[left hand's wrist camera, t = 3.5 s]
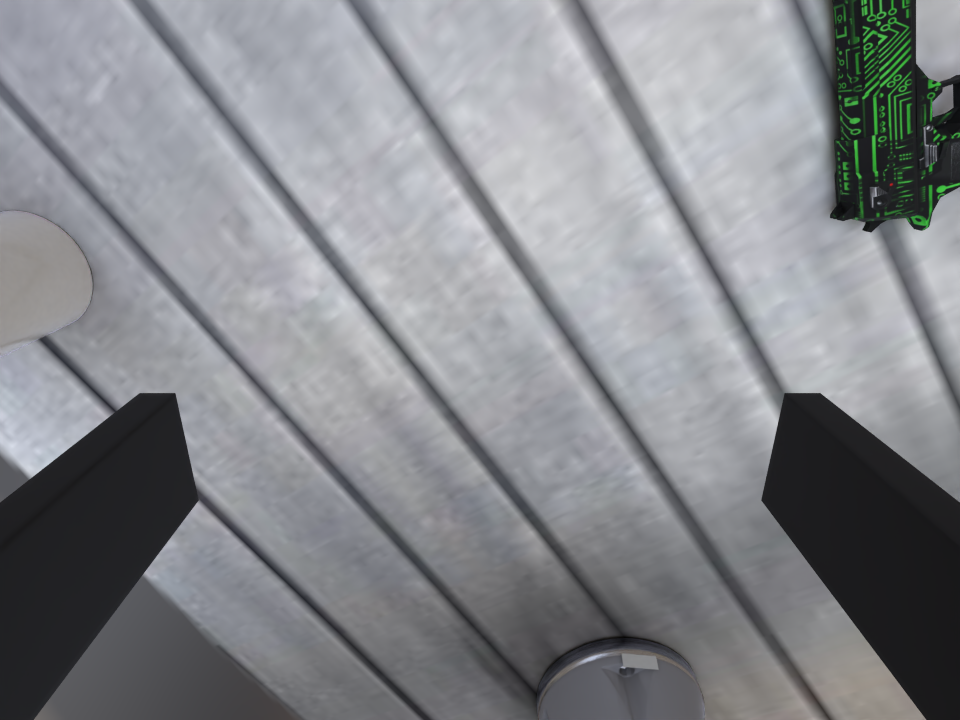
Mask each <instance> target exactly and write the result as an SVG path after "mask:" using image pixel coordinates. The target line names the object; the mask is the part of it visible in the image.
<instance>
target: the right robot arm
mask: <svg viewBox="0 0 960 720" xmlns="http://www.w3.org/2000/svg"><path fill="white" fill-rule="evenodd" d="M536 702H537V714H538V720H704V716H705V709H704V708H705V707H704V698H703V695H702V692H701V689H700V687H699V684H698V682H697V679H696V676H695V674H694V672H693V670H692V668H691V667H690V666H689V664H688V663H687V662H686V661H685V660H684V659H683V658H682V657H681V656H680V655H679V654H677V653H676V652H674V651H673V650H671V649H669V648H667V647H665V646H663V645H660V644H657V643H655V642H651V641H647V640H641V639H633V638H616V639H607V640H601V641H597V642H593V643H590V644H587V645H584V646H581V647H579V648H577V649H575V650H573V651H571V652H569V653H567V654H566V655H564V656H563V657H561V658H560V659H559V660H558V661H556V662H555V663H554V664H553V665H552V666H551V667H550V668H549V670H548V671H547V672H546V673H545V675H544V677H543V678H542V680H541V682H540V684H539V687H538V691H537V698H536Z"/></svg>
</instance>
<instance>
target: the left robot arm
mask: <svg viewBox="0 0 960 720" xmlns="http://www.w3.org/2000/svg"><path fill="white" fill-rule="evenodd" d="M197 502H198V495H197V491H196V486H195V482H194V477H193V472H192V468H191V463H190V459H189V454H188V449H187V445H186V440H185V436H184V431H183V426H182V422H181V417H180V413H179V408H178V404H177V399H176V394H175V393H139V394H138V395H137V396H136V397H134V398H133V399H132V400H130V401H129V402H128V403H127V404H125V405H124V406H123V407H122V408H120V409H119V410H118V411H116V412H115V413H114V414H113V415H111V416H110V417H109V418H108V419H106V420H105V421H104V422H102V423H101V424H100V425H99V426H97V427H96V428H95V429H94V430H92V431H91V432H90V433H88V434H87V435H86V436H85V437H83V438H82V439H81V440H79V441H78V442H77V443H76V444H74V445H73V446H72V447H71V448H69V449H68V450H67V451H65V452H64V453H63V454H62V455H60V456H59V457H58V458H57V459H55V460H54V461H53V462H51V463H50V464H49V465H48V466H46V467H45V468H44V469H43V470H41V471H40V472H39V473H37V474H36V475H35V476H34V477H32V478H31V479H30V480H28V481H27V482H26V483H25V484H23V485H22V486H21V487H20V488H18V489H17V490H16V491H15V492H13V493H12V494H11V495H9V496H8V497H7V498H6V499H4V500H3V501H2V502H0V720H34V718H35V717H36V716H37V714H38V713H39V712H40V710H41V709H42V708H43V706H44V705H45V704H46V702H47V701H48V700H49V698H50V697H51V696H52V694H53V693H54V692H55V691H56V689H57V688H58V687H59V685H60V684H61V683H62V681H63V680H64V679H65V677H66V676H67V675H68V673H69V672H70V671H71V669H72V668H73V667H74V665H75V664H76V663H77V661H78V660H79V659H80V657H81V656H82V655H83V653H84V652H85V651H86V649H87V648H88V647H89V645H90V644H91V643H92V641H93V640H94V639H95V637H96V636H97V635H98V633H99V632H100V631H101V629H102V628H103V627H104V625H105V624H106V623H107V621H108V620H109V619H110V617H111V616H112V615H113V613H114V612H115V611H116V609H117V608H118V607H119V605H120V604H121V603H122V601H123V600H124V599H125V597H126V596H127V595H128V594H129V592H130V591H131V590H132V588H133V587H134V585H135V584H136V583H137V582H138V580H139V579H140V577H141V576H142V575H143V574H144V572H145V571H146V570H147V568H148V567H149V566H150V564H151V563H152V562H153V560H154V559H155V558H156V556H157V555H158V554H159V552H160V551H161V550H162V548H163V547H164V546H165V544H166V543H167V542H168V540H169V539H170V538H171V536H172V535H173V534H174V532H175V531H176V530H177V528H178V527H179V526H180V524H181V523H182V522H183V520H184V519H185V518H186V516H187V515H188V514H189V512H190V511H191V510H192V508H193V507H194V506H195V504H196V503H197ZM762 502H763V503H764V504H765V506H766V507H767V508H768V510H769V511H770V512H771V514H772V515H773V516H774V518H775V519H776V520H777V522H778V523H779V524H780V526H781V527H782V528H783V530H784V531H785V532H786V534H787V535H788V536H789V538H790V539H791V540H792V542H793V543H794V544H795V546H796V547H797V548H798V550H799V551H800V552H801V554H802V555H803V556H804V558H805V559H806V560H807V562H808V563H809V564H810V566H811V567H812V568H813V570H814V571H815V572H816V574H817V575H818V576H819V578H820V579H821V580H822V582H823V583H824V584H825V586H826V587H827V588H828V590H829V591H830V592H831V594H832V595H833V596H834V597H835V599H836V600H837V601H838V603H839V604H840V605H841V607H842V608H843V609H844V611H845V612H846V613H847V615H848V616H849V617H850V619H851V620H852V621H853V623H854V624H855V625H856V627H857V628H858V629H859V631H860V632H861V633H862V635H863V636H864V637H865V639H866V640H867V641H868V643H869V644H870V645H871V647H872V648H873V649H874V651H875V652H876V653H877V655H878V656H879V657H880V659H881V660H882V661H883V663H884V664H885V665H886V667H887V668H888V669H889V671H890V672H891V673H892V675H893V676H894V677H895V679H896V680H897V681H898V683H899V684H900V685H901V687H902V688H903V689H904V691H905V692H906V693H907V695H908V696H909V697H910V699H911V700H912V701H913V702H914V704H915V705H916V706H917V708H918V709H919V710H920V712H921V713H922V714H923V716H924V717H925V718H926V720H960V502H958V501H957V500H956V499H954V498H953V497H952V496H951V495H949V494H948V493H947V492H946V491H944V490H943V489H942V488H940V487H939V486H938V485H937V484H935V483H934V482H933V481H932V480H930V479H929V478H928V477H926V476H925V475H924V474H923V473H921V472H920V471H919V470H917V469H916V468H915V467H914V466H912V465H911V464H910V463H909V462H907V461H906V460H905V459H903V458H902V457H901V456H900V455H898V454H897V453H896V452H895V451H893V450H892V449H891V448H889V447H888V446H887V445H886V444H884V443H883V442H882V441H881V440H879V439H878V438H877V437H875V436H874V435H873V434H872V433H870V432H869V431H868V430H866V429H865V428H864V427H863V426H861V425H860V424H859V423H858V422H856V421H855V420H854V419H852V418H851V417H850V416H849V415H847V414H846V413H845V412H844V411H842V410H841V409H840V408H838V407H837V406H836V405H835V404H833V403H832V402H831V401H830V400H828V399H827V398H826V397H824V396H823V395H822V394H821V393H785V394H784V399H783V404H782V408H781V413H780V417H779V422H778V426H777V431H776V436H775V440H774V445H773V449H772V454H771V459H770V463H769V468H768V472H767V477H766V482H765V486H764V491H763V495H762Z"/></svg>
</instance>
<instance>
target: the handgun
mask: <svg viewBox="0 0 960 720" xmlns="http://www.w3.org/2000/svg"><path fill="white" fill-rule="evenodd" d="M833 7H834V23H835V43H836V63H837V83H838V100H839V115H840V130H841V138H839V139H836V140H834V141H835V154H836V167H837V172H836V173H835V183H836V198H837V206H836V207H835V209H834V210H833V211H832V213H831V214H830V218H833V219H837V220H841V221H845V220H848V219H854V220H859V221H863V222H866V224H865V226H864V228H863V230H864V231H867V232H872V231H873V230H874V229H875V228H876V227H877V226H879V225H880V224H881V223H883V222H884V221H886V220H889V219H899V218H906V219H907V220H908V222H909V223H910V225H911V226H912V227H913V228H914V229H917V230H921V231H922V230H925V229H926V228H928V227H929V225H930V221H931V216H932V212H933V210H934V208H935V207H936V205H937V203H938V201H939V199H940V197H942V196H944V195H946V194H948V193H949V192H951V191H953V190H955V189H957V188H958V187H960V75H956V76H954V77H952V78H951V79H948V80H944V81H941V82H936V81H934V80H931V79H928V77H927V76H926V75H925V74H924V73H923V72H922V70H921V69H920V68H919V67H918V66H917V64H916V0H833ZM952 84H953V103H954V108H953V109H951V110H950V111H948V112H947V113H945V114H942V115H939V116H936V117H932V102H933V101H934V100H935V99H936V98H937V97H938V96H939V95H940V94H941V93H942V87H945V86H948V85H952ZM946 121H947V122H946ZM944 122H946V123H944ZM934 126H935V127H934Z"/></svg>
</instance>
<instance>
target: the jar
mask: <svg viewBox="0 0 960 720" xmlns="http://www.w3.org/2000/svg"><path fill="white" fill-rule="evenodd" d="M92 291H93V282H92V275H91V271H90V268H89V265H88V262H87V260H86V258H85V256H84V254H83V253H82V251H81V250H80V248H79V247H78V245H77V244H76V243H75V242H74V240H73V239H72V238H71V237H70V236H69V235H68V234H67V233H66V232H65V231H63V230H62V229H61V228H60V227H58V226H57V225H55V224H54V223H52V222H51V221H49V220H47V219H45V218H43V217H40V216H38V215H35V214H32V213H28V212H23V211H1V212H0V358H2V357H4V356H6V355H8V354H10V353H12V352H14V351H16V350H18V349H20V348H22V347H24V346H26V345H29V344H31V343H33V342H35V341H37V340H39V339H41V338H43V337H45V336H47V335H49V334H51V333H53V332H55V331H57V330H60V329H62V328H64V327H66V326H68V325H70V324H72V323H73V322H75V321H76V320H78V319H79V318H80V317H81V316H82V315H83V314H84V312H85V311H86V309H87V308H88V306H89V303H90V300H91V297H92Z"/></svg>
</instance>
